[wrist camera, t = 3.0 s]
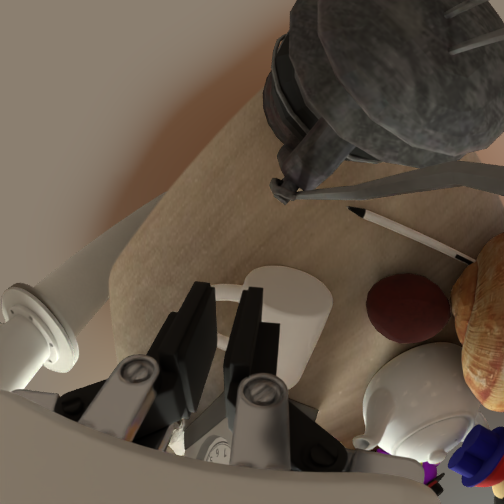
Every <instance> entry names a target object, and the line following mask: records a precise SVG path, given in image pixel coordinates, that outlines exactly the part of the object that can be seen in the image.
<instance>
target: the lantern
mask: <svg viewBox="0 0 504 504" xmlns="http://www.w3.org/2000/svg"><path fill="white" fill-rule="evenodd" d="M282 40H283V41H282ZM280 41H282V43H281V45H280V47H279V44H280ZM278 47H279V49H278ZM277 50H278V51H277ZM271 69H272V70H271V72H270V73H269V75H268V77H267V79H266V83H265V86H264V90H263V109H264V112H265V115H266V118H267V122H268V124H269V126H270V127H271V129H272V130H273V132H274V134H275V135H276V137H277V138H278V139H279V140H280V141H281V142H282V143H283V144H284V145H283V146H282V147H281V149H280V150H279V152H278V154H277V159H278V162H279V165H280V168H281V171H282V173H283V174H284V176H285V177H284V178H283V179H282V180H280V179H277V178H272V180H271V182H270V185H269V186H270V189H271V191H272V193H273V194H274V197H275V198H276V199H278V200H279V201H280V202H282V203H283V204H284V205H286V204H287V203H288V202H289V201H290V200H291V201H295V199H316V200H368V199H374V198H381V197H388V196H394V195H401V194H408V193H415V192H422V191H430V190H437V189H445V188H452V187H460V186H466V187H470V188H474V189H478V190H482V191H486V192H490V193H494V194H498V195H502V196H504V166H498V165H490V164H483V163H474V162H465V161H458V160H460V159H461V158H462V157H463V156H465V155H466V154H467V153H470V152H474V151H478V150H482V149H486V148H488V147H489V146H490V145H491V144H492V143H493V142H494V141H495V140H496V139H497V138H498V137H499V136H500V135H501V134H502V133H503V132H504V23H503V21H502V19H501V18H500V17H499V15H498V14H497V12H496V11H495V10H494V8H493V7H492V6H491V4H490V3H489V2H488V0H297V1H296V3H295V5H294V6H293V8H292V10H291V11H290V30H289V31H288V33H287V34H285V35H283V36H281V37H280V38H279V39H277V41H276V44H275V47H274V50H273V57H272V65H271ZM344 160H347V161H355V162H366V163H373V164H378V163H381V162H386V163H392V164H398V165H404V166H410V167H415V168H420V169H417V170H413V171H409V172H405V173H401V174H397V175H393V176H389V177H385V178H381V179H377V180H373V181H369V182H366V183H362V184H358V185H354V186H344V187H334V188H325V189H316V190H314V189H315V188H316V187H318V186H319V185H320V184H321V183H322V182H323V181H325V180H326V179H327V178H328V177H329V176H330V175H331V174H333V172H334V171H335V170H336V169H337V168H338V167H339V165H340V164H341V163H342V162H343V161H344ZM299 188H301V189H302V190H303V191H299V192H297V190H298V189H299Z"/></svg>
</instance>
